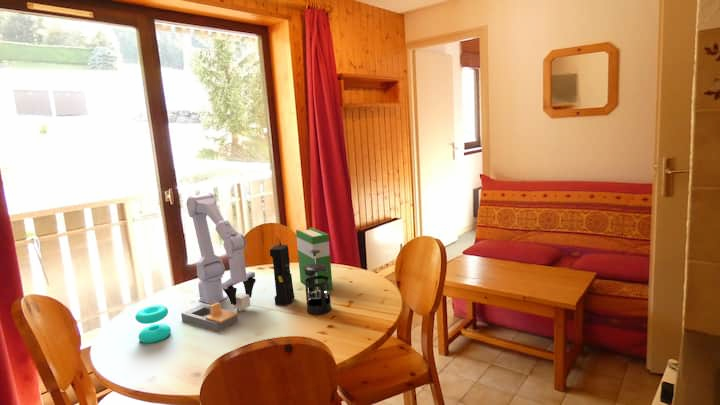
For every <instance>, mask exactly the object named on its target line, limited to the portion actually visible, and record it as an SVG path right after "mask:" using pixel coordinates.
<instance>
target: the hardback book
mask: <svg viewBox="0 0 720 405" xmlns="http://www.w3.org/2000/svg"><path fill="white" fill-rule="evenodd" d="M295 235H296V244H297V257H298V258H297V259H298V268H299V269H298V270H299V280H300V283H301V284H302V285H304V286H305V279H307V278H308V275H306V274H305V270H304V267H305V266H307V265H310V264H315V259H316V263H323V264H327V265H328V268H327V272H325V271H323V270H322V271H318V272H317V276H327V277H328V278H329V291H333V277H332V265H331V263H332V262H331V250H330V239H329V234H328V233H326V232H325V231H324V232H323V231H321V230H318V229H316V228H313V227H309V229H306V230H299V229H296V230H295ZM312 250H319V251H320V252H319V253H316V256H315V258H314V255H313V254H310V253H309V251H312ZM313 276H316V273H315V274H314V275H313ZM325 281H326V280H325V279H317V282H316V279H314V282H315V284H317V283H322V282H325ZM307 283H308V282H307ZM308 289H309V287H308ZM315 290H317V287H315ZM318 290H320V287H318ZM325 290H326V291H327V285H325Z"/></svg>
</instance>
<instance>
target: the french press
mask: <svg viewBox="0 0 720 405" xmlns="http://www.w3.org/2000/svg"><path fill="white" fill-rule="evenodd" d="M319 252H320V251H319V250H312V251H309V253H310V254H313V255H314V258H315V256H316V253H319ZM327 268H328V265H327V264H323V263H316V259H315V264H310V265H307V266H305V267H304V270H305V274H306V275H308V278H307V279H305V285H304V289H305V296H306V297H305V298H306V313H307V314H309V315H311V316H322V315H326V314H329V313H330V312H332V309H333V308H332V307H333V306H332V302H331V293H330V292H331V290H329V278H328V277H327V276H317V272H318V271H322V270H323V271H325V272H327ZM315 273H316V276H313V275H314V274H315ZM314 279H316V282H317V279H325V280H326V281H325V282H322V283H317V284H315V282H314ZM307 282H308V283H307ZM325 285H327V291H326V290H325ZM308 287H309V288H308ZM315 287H317V290H315ZM318 287H320V290H318Z"/></svg>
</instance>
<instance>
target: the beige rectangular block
mask: <svg viewBox="0 0 720 405" xmlns="http://www.w3.org/2000/svg"><path fill="white" fill-rule="evenodd" d="M232 306H233V307H232V308H234V309H236V311H237V312H236V313H239V312H240V311H243V312H246V311H247V310H246V309H247V308H250V307H251V299H250V297H249V295H247V294H246V293H241V292H239V293H236V305H232Z"/></svg>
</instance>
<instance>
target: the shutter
mask: <svg viewBox="0 0 720 405" xmlns="http://www.w3.org/2000/svg"><path fill="white" fill-rule="evenodd" d="M209 306H210V314H211V315H209V316H207V317H206V319H209V320H212V321H216V322H219V323H222V322H224V321H226V320H228V319H230V318H232V317H234V316H236V315H237V316H238V314H239V312H236V311H232V310H228V309H223V308H221V306H222V305H221V302H220V301H219V302H217V303H214V304H210V305H209ZM221 309H222V310H221Z"/></svg>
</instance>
